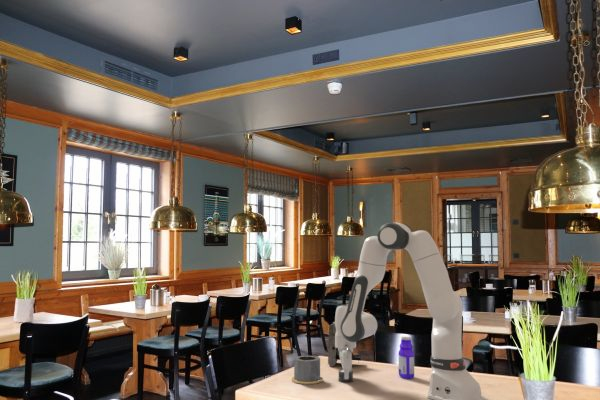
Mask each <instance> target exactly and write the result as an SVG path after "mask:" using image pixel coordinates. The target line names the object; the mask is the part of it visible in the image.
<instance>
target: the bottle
mask: <svg viewBox="0 0 600 400" xmlns="http://www.w3.org/2000/svg"><path fill="white" fill-rule="evenodd" d="M400 337H401V339H400V344H399V351H398V376H399V377H400V378H402V379H405V380H411V379H414V378H415V353H414V350H413V348H414V347H413V344H412V336H410V335H401V336H400Z"/></svg>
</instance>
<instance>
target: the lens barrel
mask: <svg viewBox="0 0 600 400" xmlns="http://www.w3.org/2000/svg"><path fill="white" fill-rule="evenodd" d="M293 365H294V366H293V367H294V368H293V374H294V375H293V376H292V377H291V381H292V383H294V384H298V385H318V384H321V383H322V382H323V381H324V380H323V379H324V378H323V377H322V376H321V357H319V356H316V355H299V356H295V357H294V364H293Z"/></svg>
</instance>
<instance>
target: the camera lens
mask: <svg viewBox="0 0 600 400" xmlns="http://www.w3.org/2000/svg"><path fill="white" fill-rule="evenodd" d="M338 382H339V383H353V382H354V372H353V369H352V370H351V371H349V379H344V370H343V369H339V370H338Z"/></svg>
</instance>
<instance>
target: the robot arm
mask: <svg viewBox="0 0 600 400" xmlns="http://www.w3.org/2000/svg"><path fill="white" fill-rule="evenodd" d="M399 250H406V251H407V253H408V254H409V256H410V258H411V261H412V263H413V265H414V268H415V271H416V273H417V275H418V276H417V277H418V279H419V281H420V284H421V289H422V292H423V295H424V299H425V303H426V306H427V310H428V312H429V315H430V316H431V318H432V328H431V329H432V330H431V355H430V366H431V371H430V377H429V387H428V392H427V398H428V399H430V400H489V399H488V398H486V397H485V396H482V388H481V385H480V383H479V382H478V381H477V380H476V379H475V377H473V376H472V374H471V373H470V372H469V371H468V370H467V365H469V364H468V361H464V357H463V352H462V349H463V348H462V345H463V344H462V329H463V327H462V326H463V301H462V298H461V296H460V295H459V294H458V293H457V292H456V291H454V289H453V286H452V282H451V279H450V277H449V272H448V270H447V267H446V265H445V262H444V259H443V256H442V255H441V252H440V250H439V247H438V246H437V244H436V242H435V240H434V239H433V237H432V235H431V234H430V233H429V232H428V231H427V230H424V229H423V230H422V229H421V230H419V229H418V230H416V231H413V229H412V228H411V227H410V226H409V225H408V224H406V223H401V222H397V221H396V222H387V223H385V224H383V225H381V226H380V228H379V229H378V231H377V235H372V236H369V237H367V238H366V239H364V242H363V245H362V248H361V251H360V255H359V261H358V268H357V272H356V275H355V278H354V282H353V284H352V287H351V291H350V296H349V299H348V303H346V304H341V305H338V306H337V307H336V309H335V316H334V321H335V327H336V333H335V347H336V348H338V351H339V356H340V360H339V361H340V364H341V366H342V370H344V379H349V371H351V370H352V371H353V369H352V368H353V360H352V353H353V352H354V349H356V348H357V342H359V341H361V340H363V339H365V338H369V337H371V336H373V335H374V334H376V332H377V331H378V325H379V324H378V321H377V318H376V317H375V315H373V314H371V313H367V312H365V311H364V308H365V304H366V300H367V296H368V295H369V293H370V292H371V290H373V289H374V288H375V287H376V286H377V285H379V284H381V282H382V281H383V279H384V277H385V274H386V267H387V259H388V256H389V254H390V253H391V252H392V251H399Z"/></svg>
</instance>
